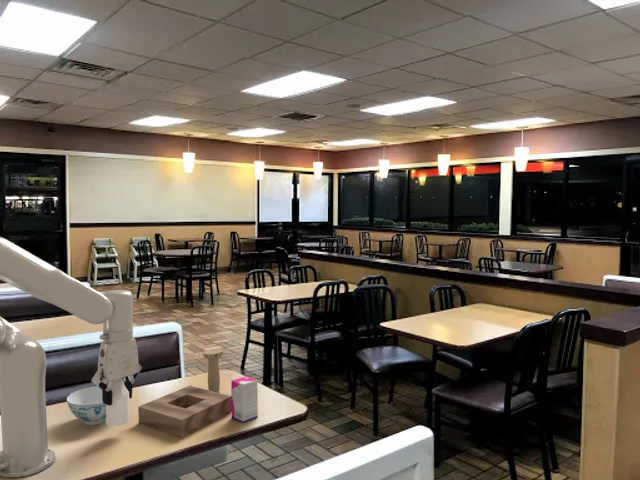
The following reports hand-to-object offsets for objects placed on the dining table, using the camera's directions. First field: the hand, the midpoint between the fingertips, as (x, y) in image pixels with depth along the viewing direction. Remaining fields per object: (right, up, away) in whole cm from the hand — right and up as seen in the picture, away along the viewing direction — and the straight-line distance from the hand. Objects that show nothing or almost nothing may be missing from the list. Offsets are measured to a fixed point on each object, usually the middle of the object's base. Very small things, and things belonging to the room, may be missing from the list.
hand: (117, 400), depth 139 cm
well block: (+16, -9, +12) cm, 22 cm away
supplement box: (+33, -9, +12) cm, 36 cm away
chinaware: (-11, -10, +11) cm, 18 cm away
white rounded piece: (0, -6, 0) cm, 6 cm away
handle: (+20, -8, +29) cm, 37 cm away
